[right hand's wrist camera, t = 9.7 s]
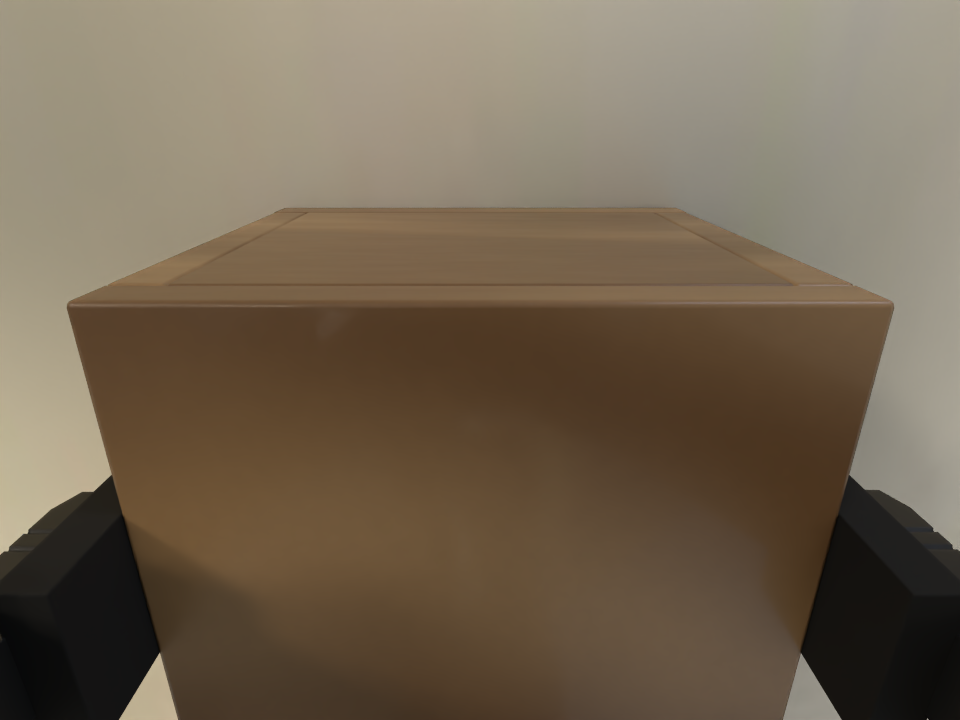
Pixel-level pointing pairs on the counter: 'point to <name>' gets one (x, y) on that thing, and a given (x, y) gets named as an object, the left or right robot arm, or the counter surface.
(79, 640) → the right robot arm
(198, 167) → the counter surface
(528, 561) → the cabinet
